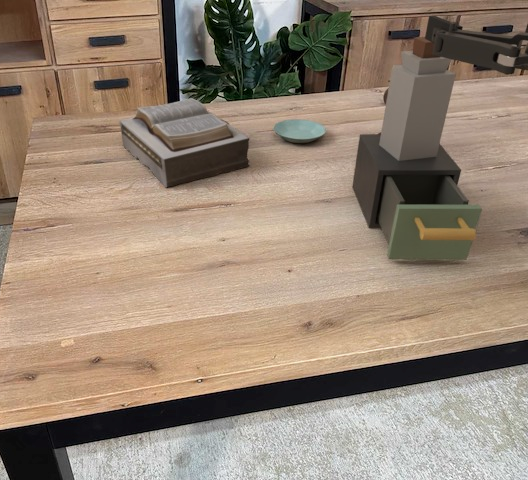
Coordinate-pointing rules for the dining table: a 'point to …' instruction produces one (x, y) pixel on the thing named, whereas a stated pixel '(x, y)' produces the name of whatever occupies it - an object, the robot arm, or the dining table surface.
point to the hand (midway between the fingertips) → (480, 24)
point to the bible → (184, 142)
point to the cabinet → (390, 172)
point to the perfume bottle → (417, 103)
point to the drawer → (426, 218)
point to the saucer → (299, 130)
